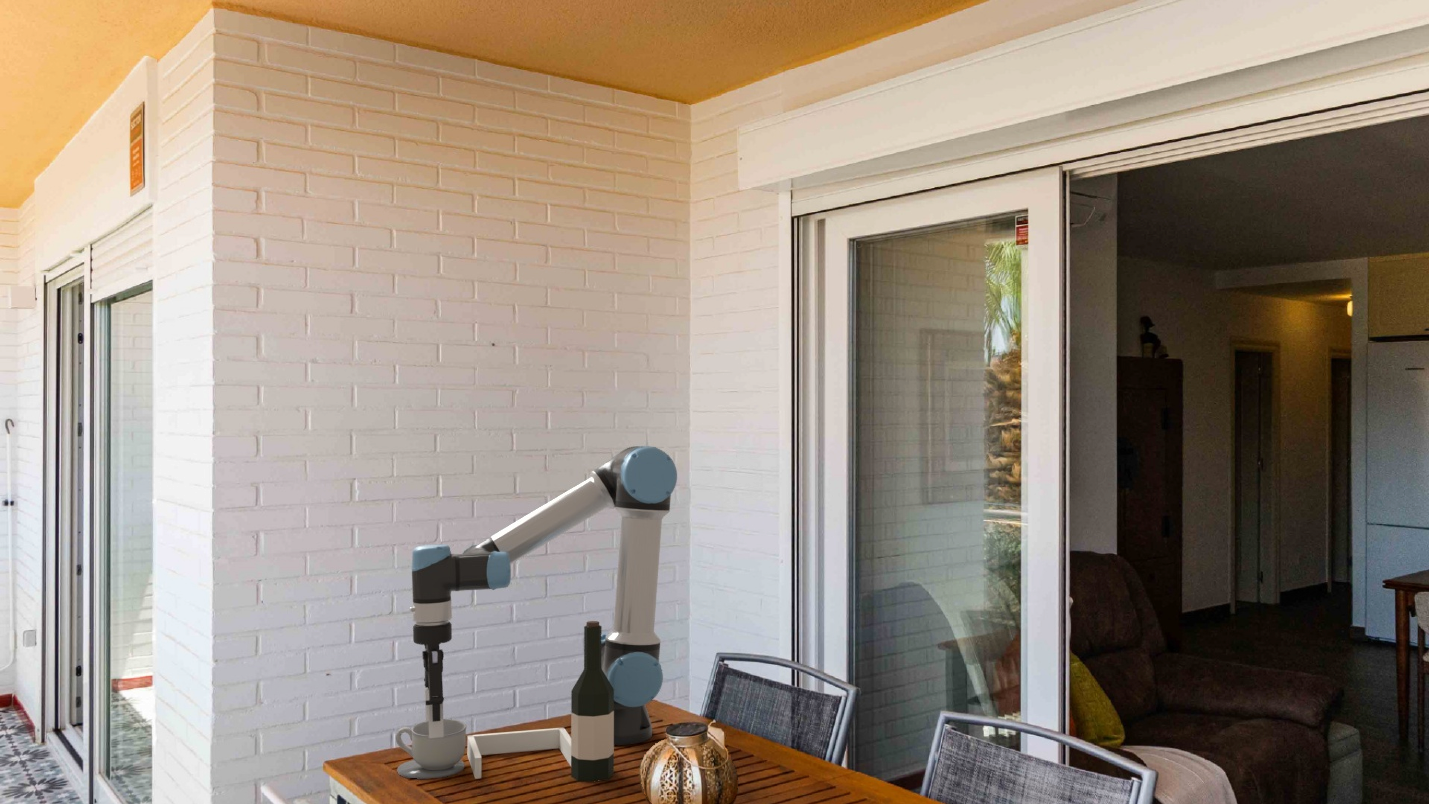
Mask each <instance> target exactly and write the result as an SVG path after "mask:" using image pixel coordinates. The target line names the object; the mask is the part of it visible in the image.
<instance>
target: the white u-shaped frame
mask: <svg viewBox="0 0 1429 804" xmlns="http://www.w3.org/2000/svg"><path fill="white" fill-rule="evenodd" d="M466 736H467V737H466V739H467V740H466V744H467V745H466V749H467V750H466V753H467V759H468V762H469V764H470V767H471V772H472V774H473V777H474V779H475V780H476V779H477V780H478V779H482V756H487V755H488V756H489V755H498V754H508V753H510V754H511V753H520V752H531V751H543V750H552V749H553V750H554V749H555V750H556V749H559V750H560V751H561V753H562V755H563V756H564V758H565V760H566V761H567V763H568V765H569V766H570V767H571V735H570V734H569V732H568V731H567V730H566V729H565V727H555V728H553V727H552V728H544V729H543V728H542V729H529V730H519V731H517V730H516V731H506V732H493V733H481V734H466Z"/></svg>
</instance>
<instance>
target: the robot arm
mask: <svg viewBox="0 0 1429 804" xmlns="http://www.w3.org/2000/svg"><path fill="white" fill-rule="evenodd" d="M677 480H678V472H677V467H676V464H675V462H674V461H673V459H672V458H671V457H670V455H669V454H668V453H667V452H665V451H663V450H662V449H661V448H658V447H656V446H650V445H644V446H643V445H642V446H641V445H639V446H630V447H627V448H625V449H623V450H622V451H619V452H618V453H617V454H616V455H614V456H613V457H612V458H611V459H608V461H606V462H605V463H603V464H602V465H600V466H599V467H597V468H596V469H594V470H592V471H590V474H589V477H588V478H587V479H586V480H584V481H582V482H581V483H579V484H577V485H576V486H574V487H572V488H570V489H568V490H567V491H565V492H564V493H561V494H560V495H558V496H557V497H555V498H553V499H552V500H550V501H548V502H546V503H545V504H543V505H542V506H540V507H538V508H537V509H534V510H533V511H531V512H529V513H528V514H527V515H525V516H523V517H521V518H519V519H518V520H516V521H514V522H513V523H511V524H510V525H508V526H506V527H504V528H502V529H501V530H500V531H498V532H496V533H494V534H493V535H491V536H490V537H488V538H486V539H484V540H482V541H481V542H479V543H478V544H474V545H471V546H469V547H467V548H466V549H465V550H464V551H463V552H462V553H452V550H451V548H450V546H449V545H448V544H424V545H419V546H416V547H415V548H414V549H413V550H412V553H411V554H412V556H411V557H412V559H411V560H412V561H411V580H412V581H411V584H412V585H411V586H412V587H411V588H412V607H411V606H410V607H409V612H411V613H412V612H413V615H412V617H413V618H412V619H413V620H412V621H413V622H414V623H415V624H414V625H412V626H413V627H412V631H413V632H412V633H413V634H412V635H413V638H412V639H413V643H414V644H416V645H421V646H423V645H424V650H422V654H421V655H422V660H423V661H422V662H423V668H424V678H423V681H424V687H425V688H424V698H425V699H424V707H425V708H424V710H425V712H424V713H425V715H424V716H425V717H424V719H425V721H429V738H437V737H444V731H443V719H444V701H445V698H444V691H443V690H444V689H443V688H444V687H443V671H444V662H443V661H444V659H445V656H444V651H443V649H440V644H445V643H448V642H450V641H452V638H453V635H452V633H453V631H452V630H453V629H452V622H451V620H452V618H453V617H452V612H453V611H452V595H451V594H452V592H460V591H461V592H462V591H463V592H464V591H478V590H479V591H481V590H491V591H492V590H493V591H494V590H497V589H498V590H499V589H506V588H508V587H509V586H510V585H511V578H512V576H511V575H512V574H511V573H512V572H511V571H512V569H511V565H512V564H514V563H516V562H518V561H519V560H521V559H522V558H524V557H526V556H527V555H529V554H531V553H533V552H534V551H536V550H537V549H539V548H541V547H542V546H545V545H546V544H548V543H549V542H551V541H552V540H555V539H556V538H558V537H559V536H562V534H565V533H566V532H568V531H570V530H571V529H573V528H574V527H576V526H578V525H580V524H581V523H583V522H584V521H586V520H588V519H590V518H591V517H593V516H594V515H596V514H599V512H601V511H603V510H604V509H607V508H609V509H615V510H616V511H617V512H618V513H619V514H620V516H621V521H620V522H621V523H620V538H619V549H618V564H617V579H616V589H615V591H616V592H615V605H614V619H613V629H612V631H610V632H603V633H602V635H601V669H602V670H603V672H604V674H605V675H606V677H607V679H608V680H609V682H610V684H611V685H612V687H613V689H614V746H626V745H634V744H640V743H643V742H646V741H648V740H650V739H651V738H652V737H653V733H652V732H653V727H652V721H651V719H650V716H649V713H648V709H647V707H646V706H647V705H646V704H649V703H650V702H651V701H652V700H654V699H655V698H656V697H657V696H658V694H659V692H660V690H661V689H662V686H663V681H664V673H663V669H662V665H661V663H660V654H661V653H660V650H661V639H660V638H659V637H658V635H657V633H655V619H656V606H657V593H658V579H659V564H660V550H661V538H662V537H661V536H662V535H661V534H662V523H663V522H662V521H663V519H664V517H666V516H667V515H668V514H669V513H670V511H671V508H670V507H671V497H672V494H673V492H674V490H675V488H676V485H677V483H678V481H677ZM425 721H424V722H425Z"/></svg>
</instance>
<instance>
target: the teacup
mask: <svg viewBox="0 0 1429 804" xmlns="http://www.w3.org/2000/svg"><path fill="white" fill-rule="evenodd" d="M443 731H444V737H437V738H429V721H422V722H419V723H416V724H415V725H413V726H412V727H411V728H410V727H409V726H403V727H401V728H399V729H398V730H397V732H396V734H395V742H396V744H397V745H398V746H399V748H400V749H402V750H404V752H406V753H408V754H409V755H410V756H409V757H412V758H413V760H415V762H416V763H417V764H419V765H420V766H421V767H422V768H424V769H428V770H443V769H448V768H451V767H453V766H454V765H455V764H456V763H457V762H458V761H460V760H461V761H462V758H463V757H464V755H465V753H466V744H467V740H466V739H467V737H466V736H467V733H466V731H467V724H466V723H465V722H464V721H460V720H457V719H449V718H443ZM403 733H406V734H408V735H409V737H410V741H411V746H410V745H407V744H406V743H405V742H404V741H403V739H402V735H403Z"/></svg>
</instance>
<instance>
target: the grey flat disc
mask: <svg viewBox="0 0 1429 804" xmlns="http://www.w3.org/2000/svg"><path fill="white" fill-rule="evenodd" d="M464 769H465V762H464V761H463V760H462V759H461V760H460V761H458V762H457V763H456V764H455V765H454V766H453V767H451V768H448V769H443V770H428V769H424V768H422V767H421V766H420V765H419V764H417V763H416V762H415V760H414V759H411V760H409V761H406V762H403V763H401V764H400V765H398V767H397V770H396V771H397V772H398V773H397V775H399V776H400V775H401V776H400V777H402V776H403V777H402V778H405V779H410V778H417V779H416V780H429V779H428V778H437V779H442V777H443V778H447V776H448V777H451V776H454V775H457V774H459V773H461V772H462V771H463V770H464Z"/></svg>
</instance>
